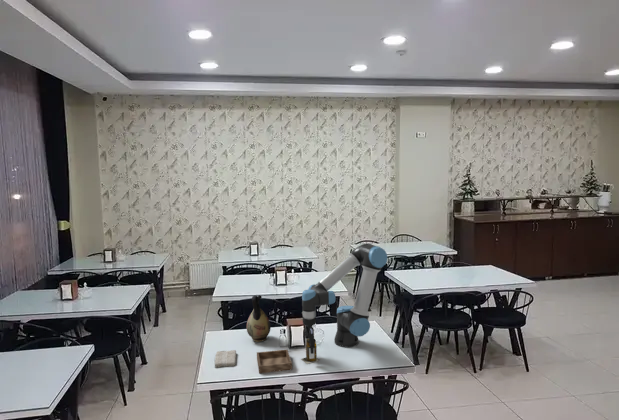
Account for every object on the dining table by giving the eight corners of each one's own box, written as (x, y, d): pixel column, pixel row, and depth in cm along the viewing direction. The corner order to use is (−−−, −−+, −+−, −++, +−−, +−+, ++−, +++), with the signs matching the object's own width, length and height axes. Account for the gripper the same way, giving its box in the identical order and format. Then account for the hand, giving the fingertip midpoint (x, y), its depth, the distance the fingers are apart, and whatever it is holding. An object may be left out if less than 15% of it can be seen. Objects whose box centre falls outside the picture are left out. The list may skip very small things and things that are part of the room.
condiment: (319, 360, 252) (319, 340, 251) (307, 364, 248) (306, 343, 246) (312, 355, 258) (312, 336, 257) (300, 359, 254) (300, 339, 252)
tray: (287, 355, 259) (287, 349, 258) (292, 370, 241) (291, 363, 241) (256, 359, 255) (256, 352, 255) (259, 373, 238) (258, 366, 237)
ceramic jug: (250, 334, 293) (249, 290, 289) (273, 334, 290) (271, 290, 287) (243, 344, 276) (241, 298, 273) (267, 345, 274) (265, 299, 270)
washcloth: (236, 353, 265) (236, 348, 264) (236, 366, 247) (235, 361, 247) (216, 354, 263) (215, 350, 263) (214, 368, 245) (214, 363, 245)
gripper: (299, 310, 261) (300, 345, 263) (306, 325, 238) (307, 363, 240) (311, 309, 262) (312, 344, 265) (320, 324, 239) (320, 362, 242)
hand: (309, 353), depth 253 cm, fingers open, 11 cm apart
